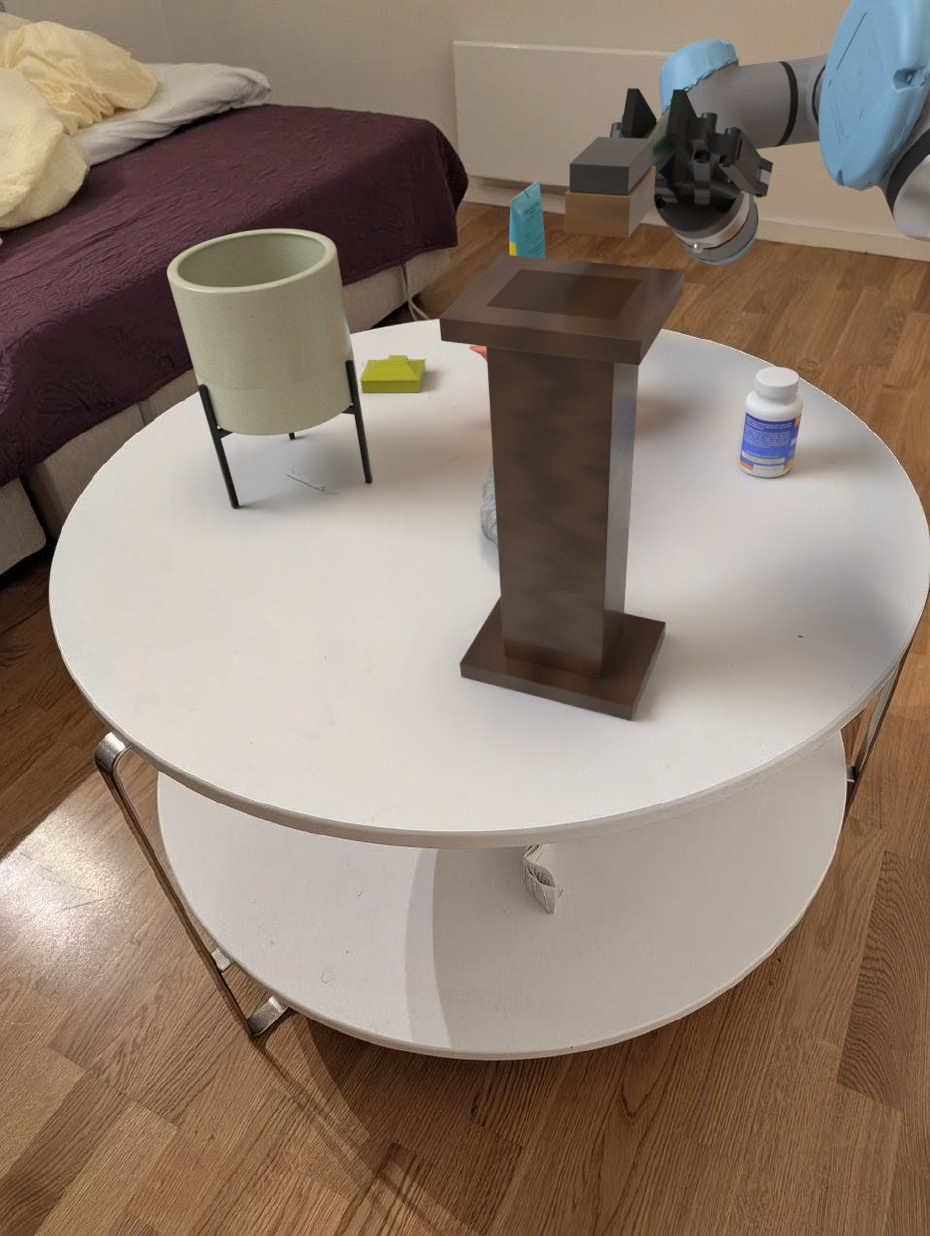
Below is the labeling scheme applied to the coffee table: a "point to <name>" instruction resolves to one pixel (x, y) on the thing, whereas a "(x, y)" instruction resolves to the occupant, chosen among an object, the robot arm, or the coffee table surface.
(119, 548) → the coffee table surface
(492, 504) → the seashell
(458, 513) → the coffee table surface
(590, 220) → the brush
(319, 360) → the planter
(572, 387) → the stand
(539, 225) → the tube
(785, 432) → the pill bottle
